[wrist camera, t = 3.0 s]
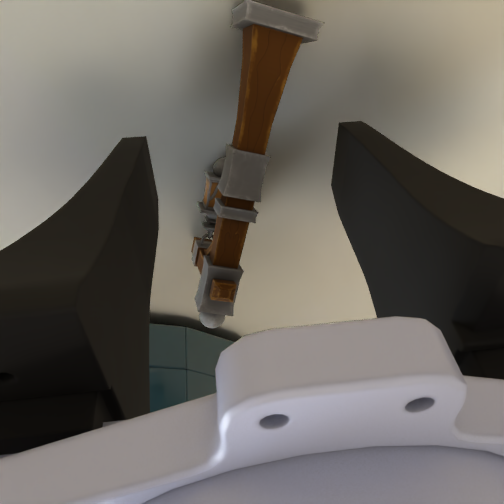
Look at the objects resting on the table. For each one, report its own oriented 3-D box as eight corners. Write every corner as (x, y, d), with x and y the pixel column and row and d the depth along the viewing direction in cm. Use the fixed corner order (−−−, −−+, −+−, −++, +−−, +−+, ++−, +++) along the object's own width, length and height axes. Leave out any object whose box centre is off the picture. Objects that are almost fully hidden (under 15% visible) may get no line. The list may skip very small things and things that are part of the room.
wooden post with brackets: (169, 272, 16) (179, 339, 12) (216, 21, 14) (248, -3, 10) (220, 278, 17) (247, 345, 13) (274, 37, 14) (328, 21, 10)
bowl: (29, 482, 29) (10, 568, 25) (-107, 332, 18) (-169, 448, 15) (277, 452, 30) (289, 532, 27) (285, 294, 19) (306, 395, 16)
